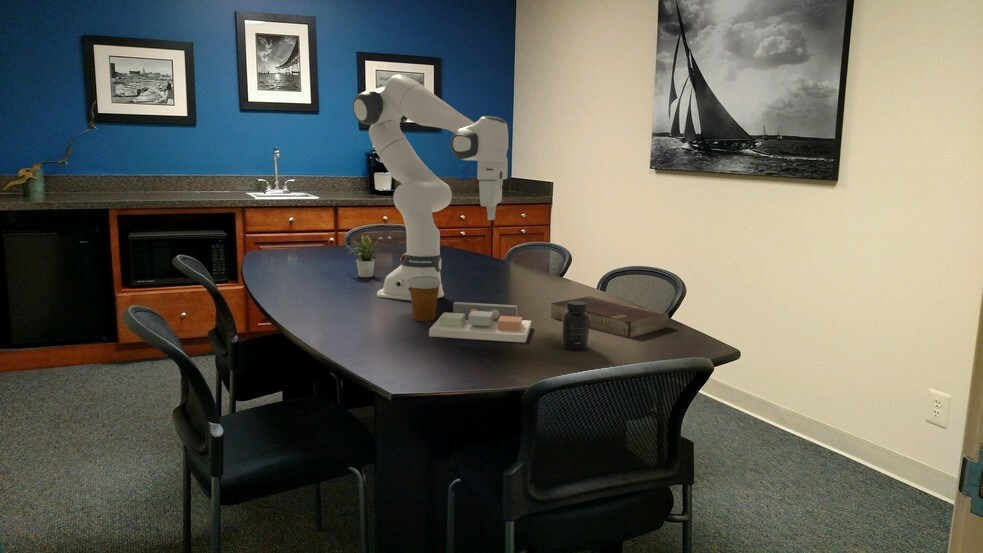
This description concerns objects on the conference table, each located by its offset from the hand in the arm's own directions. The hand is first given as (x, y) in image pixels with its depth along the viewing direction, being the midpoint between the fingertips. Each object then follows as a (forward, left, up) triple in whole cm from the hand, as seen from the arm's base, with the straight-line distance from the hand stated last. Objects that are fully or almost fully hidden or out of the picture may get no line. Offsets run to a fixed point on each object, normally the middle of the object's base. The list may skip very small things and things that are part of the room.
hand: (491, 219), depth 211 cm
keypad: (+1, -20, -29) cm, 35 cm away
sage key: (-7, -21, -28) cm, 36 cm away
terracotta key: (+9, -21, -28) cm, 36 cm away
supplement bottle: (+27, -30, -29) cm, 50 cm away
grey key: (+1, -21, -27) cm, 35 cm away
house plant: (-57, +52, -29) cm, 82 cm away
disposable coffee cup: (-18, -9, -29) cm, 36 cm away
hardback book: (+36, 0, -30) cm, 47 cm away
